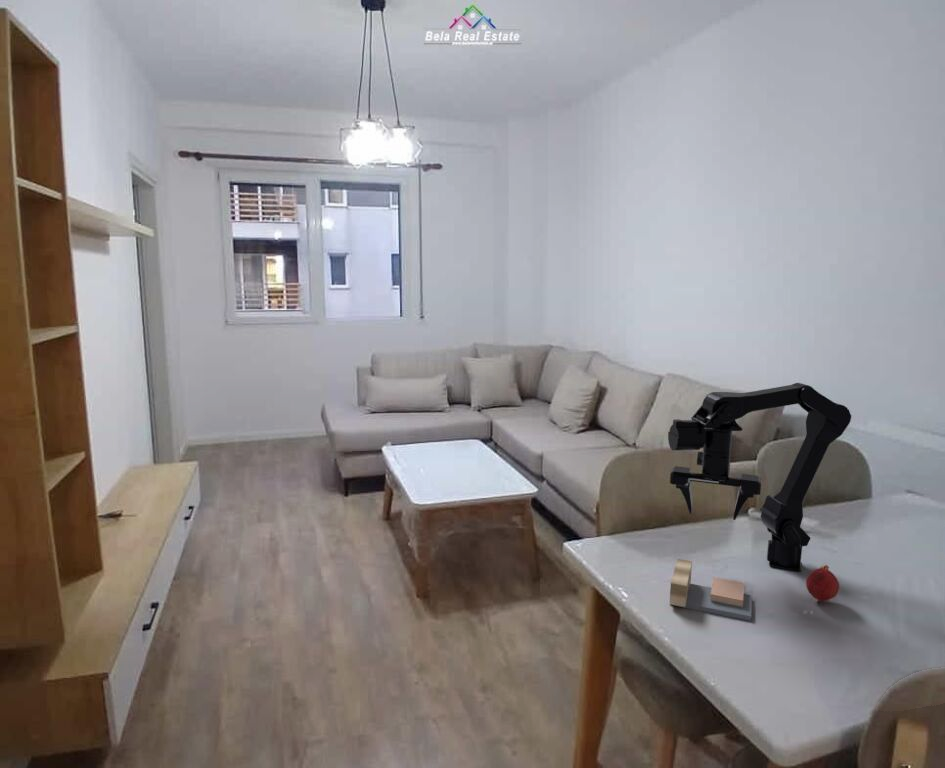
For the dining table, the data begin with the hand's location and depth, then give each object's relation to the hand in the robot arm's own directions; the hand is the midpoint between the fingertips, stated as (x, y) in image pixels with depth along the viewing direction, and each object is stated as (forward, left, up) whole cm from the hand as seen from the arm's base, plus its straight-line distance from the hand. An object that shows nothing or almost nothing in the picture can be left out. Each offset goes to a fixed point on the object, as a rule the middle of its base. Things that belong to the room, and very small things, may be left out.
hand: (712, 516), depth 142 cm
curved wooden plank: (+5, +18, -11) cm, 21 cm away
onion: (-22, +8, -12) cm, 26 cm away
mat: (-1, +17, -12) cm, 21 cm away
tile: (-4, +11, -10) cm, 16 cm away
